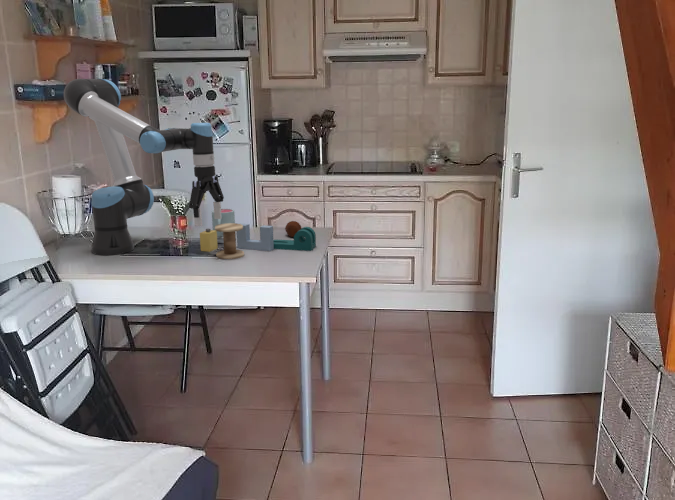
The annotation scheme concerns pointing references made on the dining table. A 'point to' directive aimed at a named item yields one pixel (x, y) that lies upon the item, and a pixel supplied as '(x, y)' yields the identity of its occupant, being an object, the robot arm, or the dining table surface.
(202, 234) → the yellow block
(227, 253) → the bobbin
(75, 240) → the dining table surface
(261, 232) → the notch board
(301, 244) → the bracket
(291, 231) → the potato
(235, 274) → the dining table surface
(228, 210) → the mug
